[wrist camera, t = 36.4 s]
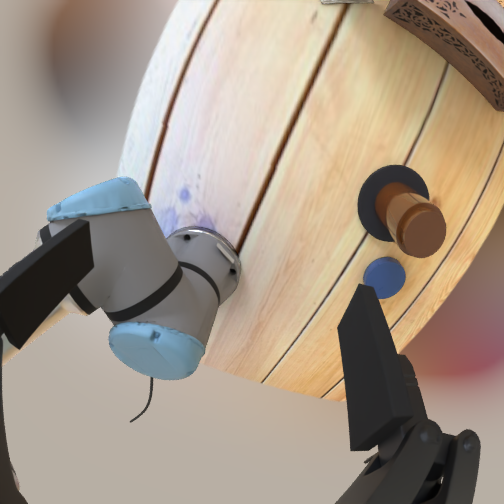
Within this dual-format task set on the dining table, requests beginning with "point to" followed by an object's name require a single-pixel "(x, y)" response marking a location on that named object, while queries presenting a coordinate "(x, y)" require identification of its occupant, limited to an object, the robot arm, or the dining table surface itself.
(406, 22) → the tissue box cover
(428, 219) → the jar
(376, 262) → the lid
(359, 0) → the condiment
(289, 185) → the dining table surface
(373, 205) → the coaster
